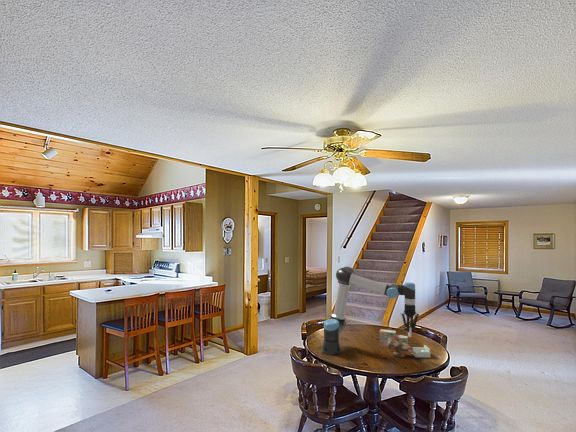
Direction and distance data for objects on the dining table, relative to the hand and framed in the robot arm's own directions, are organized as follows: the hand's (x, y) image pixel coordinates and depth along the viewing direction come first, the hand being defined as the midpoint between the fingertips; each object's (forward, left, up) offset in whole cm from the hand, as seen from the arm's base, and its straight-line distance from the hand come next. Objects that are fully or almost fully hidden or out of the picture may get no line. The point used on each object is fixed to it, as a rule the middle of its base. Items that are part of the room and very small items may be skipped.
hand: (409, 336), depth 245 cm
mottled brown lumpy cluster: (-6, +4, -13) cm, 15 cm away
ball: (+12, +6, -13) cm, 19 cm away
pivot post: (-6, +6, -16) cm, 18 cm away
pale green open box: (+10, +6, -16) cm, 19 cm away
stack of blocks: (-5, +24, -16) cm, 29 cm away
